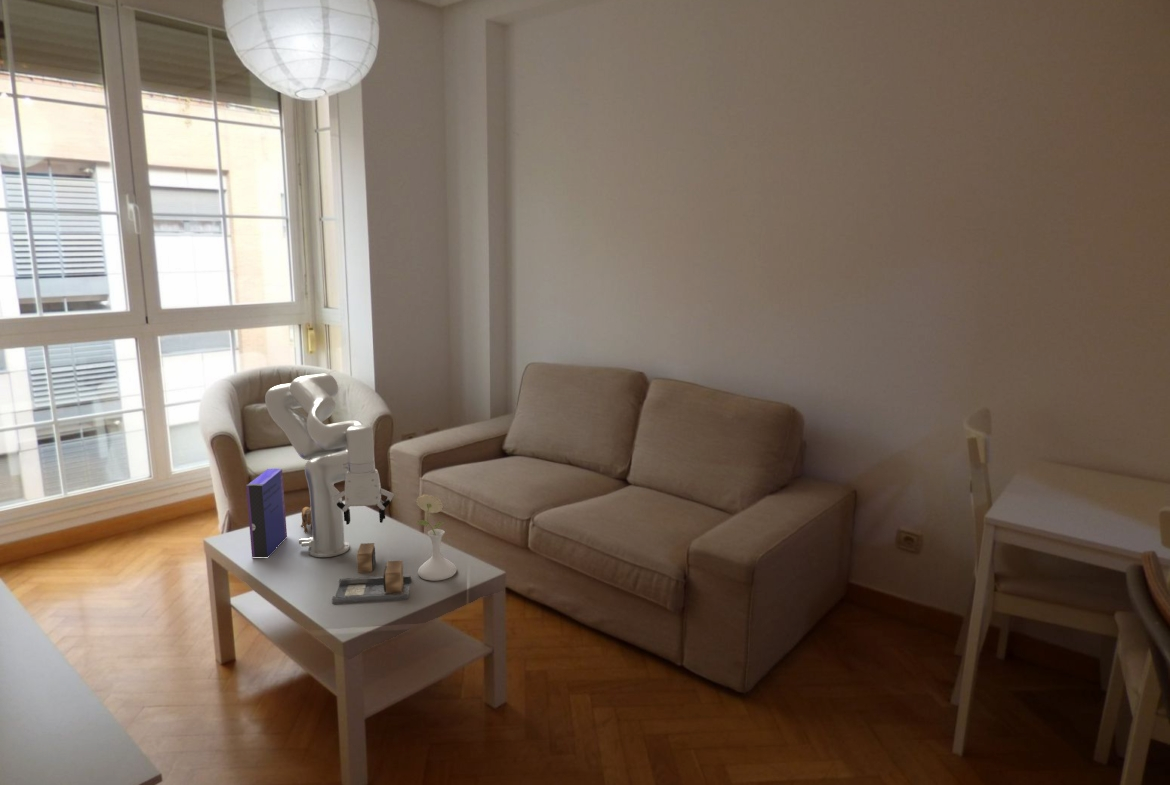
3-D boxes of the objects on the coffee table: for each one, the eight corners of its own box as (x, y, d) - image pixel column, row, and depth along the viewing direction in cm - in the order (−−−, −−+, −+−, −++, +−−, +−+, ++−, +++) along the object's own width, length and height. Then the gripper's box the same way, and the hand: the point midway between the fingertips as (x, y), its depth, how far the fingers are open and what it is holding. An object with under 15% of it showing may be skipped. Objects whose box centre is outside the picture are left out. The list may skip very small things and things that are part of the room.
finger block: (358, 576, 224) (356, 554, 222) (362, 565, 231) (360, 543, 230) (372, 575, 224) (371, 553, 223) (376, 564, 232) (375, 542, 231)
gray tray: (332, 606, 204) (332, 598, 204) (340, 586, 216) (339, 578, 216) (407, 602, 207) (407, 594, 207) (411, 582, 219) (411, 574, 219)
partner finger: (383, 596, 208) (382, 573, 207) (387, 584, 216) (386, 561, 215) (400, 595, 209) (399, 572, 208) (403, 583, 217) (402, 560, 215)
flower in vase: (464, 573, 226) (462, 494, 221) (439, 588, 216) (436, 505, 211) (431, 564, 232) (429, 486, 227) (405, 577, 223) (402, 497, 218)
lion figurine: (322, 533, 257) (321, 508, 255) (306, 536, 253) (304, 511, 252) (310, 520, 268) (308, 496, 267) (294, 523, 265) (293, 499, 263)
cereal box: (272, 537, 253) (267, 468, 248) (287, 537, 253) (282, 468, 248) (252, 558, 235) (246, 485, 231) (267, 558, 236) (261, 485, 231)
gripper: (328, 471, 216) (332, 528, 220) (390, 469, 219) (393, 524, 222) (333, 464, 224) (337, 519, 227) (393, 462, 226) (396, 516, 229)
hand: (365, 522), depth 225 cm, fingers open, 9 cm apart
